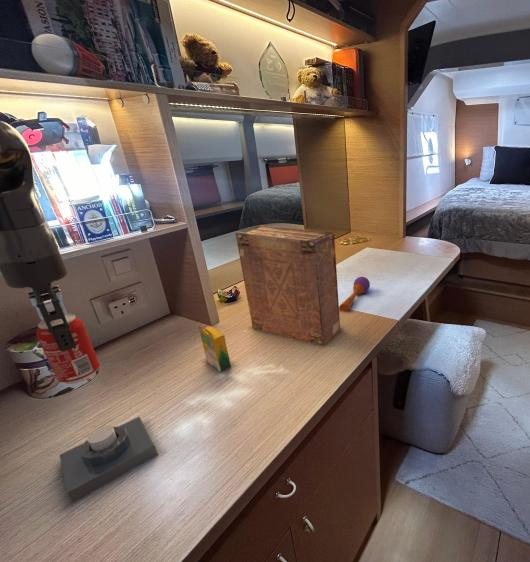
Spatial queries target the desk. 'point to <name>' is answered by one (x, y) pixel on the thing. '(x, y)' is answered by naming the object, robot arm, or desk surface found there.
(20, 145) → the robot arm
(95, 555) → the desk surface
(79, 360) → the beverage can
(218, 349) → the crayon box
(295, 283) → the brown wooden chest
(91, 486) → the button base
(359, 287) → the purple and orange maraca
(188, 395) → the desk surface
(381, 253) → the desk surface
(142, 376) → the desk surface
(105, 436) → the white button cap
